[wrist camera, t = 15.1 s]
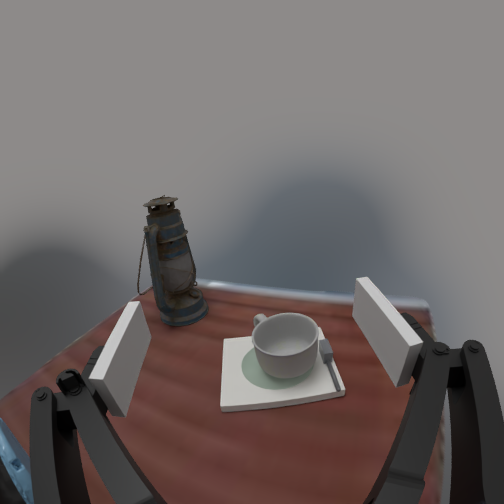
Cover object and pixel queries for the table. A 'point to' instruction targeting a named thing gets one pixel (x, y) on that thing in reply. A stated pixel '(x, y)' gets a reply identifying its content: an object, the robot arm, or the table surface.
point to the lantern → (171, 265)
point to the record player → (274, 379)
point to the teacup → (285, 344)
